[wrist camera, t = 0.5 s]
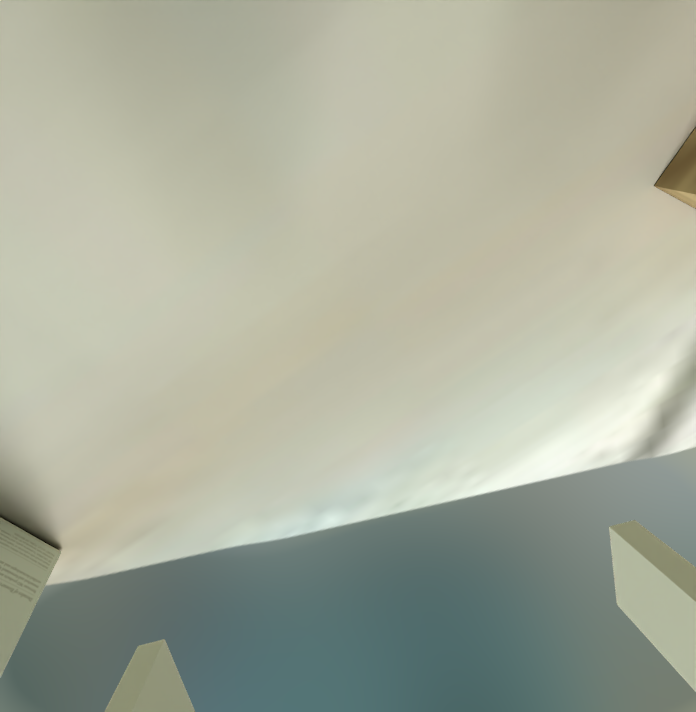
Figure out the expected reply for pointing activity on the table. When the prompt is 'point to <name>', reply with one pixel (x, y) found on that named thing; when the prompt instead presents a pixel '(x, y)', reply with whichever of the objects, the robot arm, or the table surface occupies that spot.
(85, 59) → the table surface
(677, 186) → the tall stand
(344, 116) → the table surface
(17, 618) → the supplement box
